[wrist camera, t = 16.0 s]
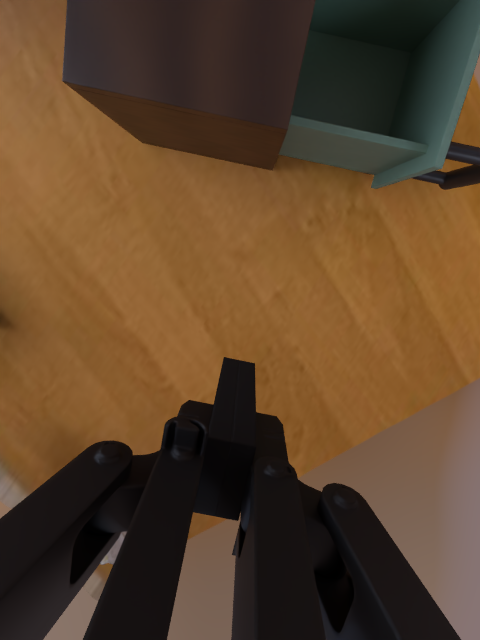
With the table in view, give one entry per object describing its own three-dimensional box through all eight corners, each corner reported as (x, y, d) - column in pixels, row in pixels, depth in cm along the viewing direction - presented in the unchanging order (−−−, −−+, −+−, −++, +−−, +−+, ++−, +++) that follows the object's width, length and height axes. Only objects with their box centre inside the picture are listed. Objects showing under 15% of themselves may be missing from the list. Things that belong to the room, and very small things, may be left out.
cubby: (305, 15, 33) (351, -168, 18) (272, 170, 37) (287, 130, 21) (160, -17, 33) (80, -231, 18) (142, 142, 37) (61, 81, 21)
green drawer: (490, 52, 33) (638, -56, 20) (440, 202, 36) (539, 189, 24) (286, 7, 32) (308, -133, 20) (255, 163, 36) (257, 128, 23)
